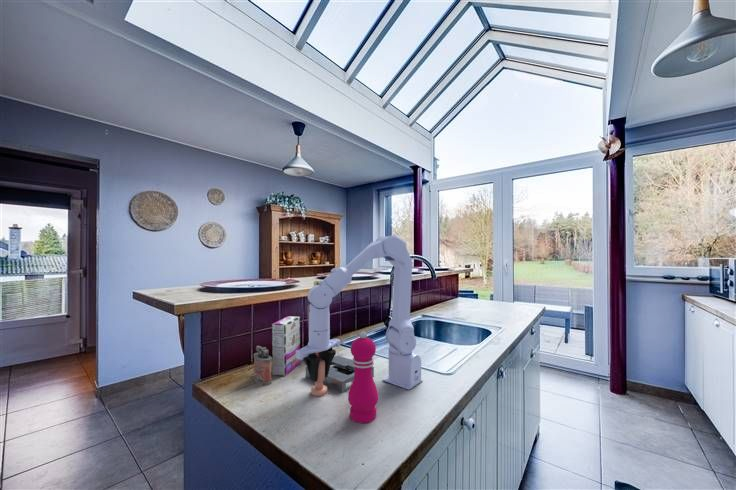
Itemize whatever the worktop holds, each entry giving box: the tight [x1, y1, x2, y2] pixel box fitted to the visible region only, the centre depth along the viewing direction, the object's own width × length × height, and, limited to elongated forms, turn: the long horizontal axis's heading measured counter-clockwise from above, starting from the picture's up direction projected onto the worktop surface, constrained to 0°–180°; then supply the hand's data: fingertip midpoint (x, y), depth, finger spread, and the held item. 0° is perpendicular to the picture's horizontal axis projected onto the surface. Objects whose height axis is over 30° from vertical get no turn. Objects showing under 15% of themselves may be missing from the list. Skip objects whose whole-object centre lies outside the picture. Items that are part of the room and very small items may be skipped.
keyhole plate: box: [305, 355, 375, 393], centre depth 93 cm, size 16×14×3 cm
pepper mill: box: [347, 330, 379, 424], centre depth 71 cm, size 7×7×20 cm
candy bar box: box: [271, 315, 301, 377], centre depth 99 cm, size 11×5×16 cm, turn 168°
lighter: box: [252, 345, 273, 387], centre depth 90 cm, size 8×3×10 cm, turn 47°
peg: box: [310, 359, 328, 397], centre depth 82 cm, size 4×4×9 cm
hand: (319, 378), depth 82 cm, fingers closed on peg, 3 cm apart
